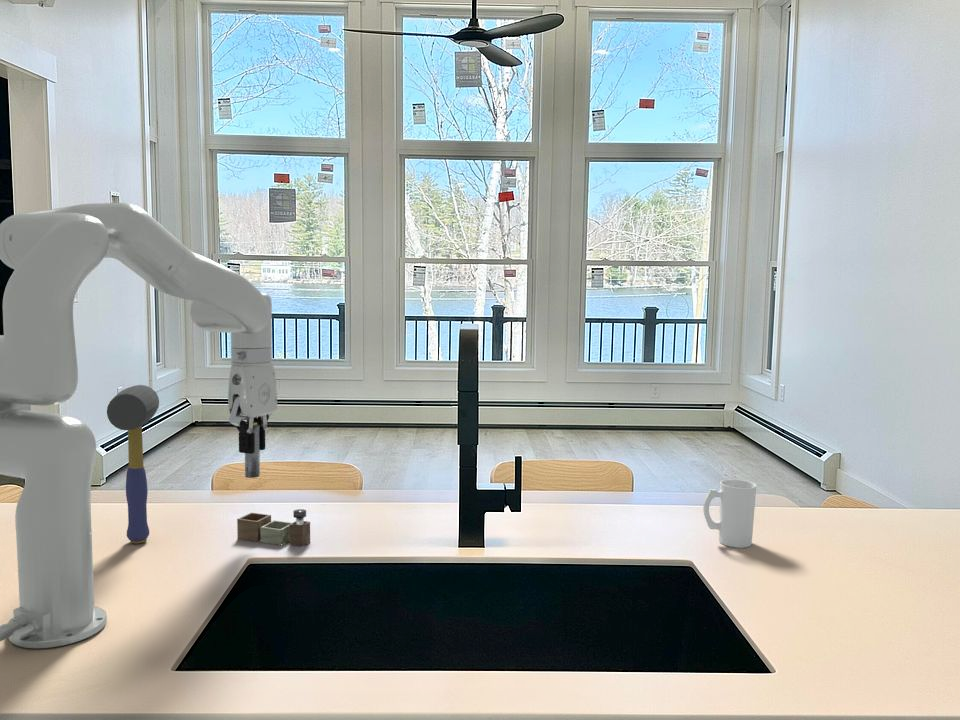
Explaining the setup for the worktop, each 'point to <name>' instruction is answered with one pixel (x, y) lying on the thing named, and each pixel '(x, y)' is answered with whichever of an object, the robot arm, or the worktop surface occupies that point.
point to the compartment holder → (272, 530)
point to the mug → (733, 512)
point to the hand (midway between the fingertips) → (252, 450)
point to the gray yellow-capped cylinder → (253, 455)
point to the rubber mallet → (135, 451)
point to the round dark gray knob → (299, 516)
